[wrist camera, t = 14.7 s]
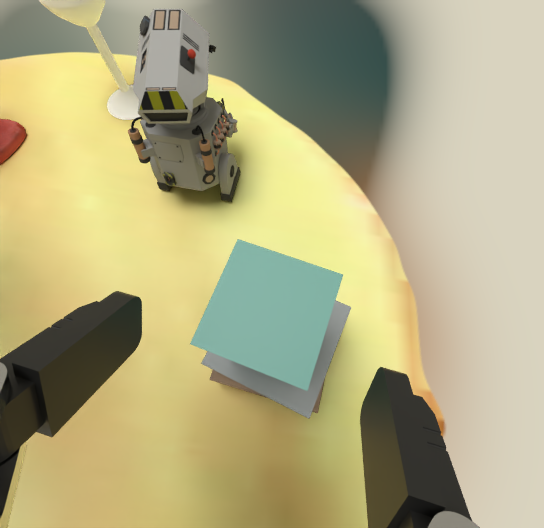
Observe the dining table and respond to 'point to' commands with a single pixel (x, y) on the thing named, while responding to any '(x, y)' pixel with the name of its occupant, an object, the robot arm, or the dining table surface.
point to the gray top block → (279, 389)
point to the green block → (269, 313)
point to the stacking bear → (10, 137)
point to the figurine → (181, 107)
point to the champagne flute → (86, 12)
